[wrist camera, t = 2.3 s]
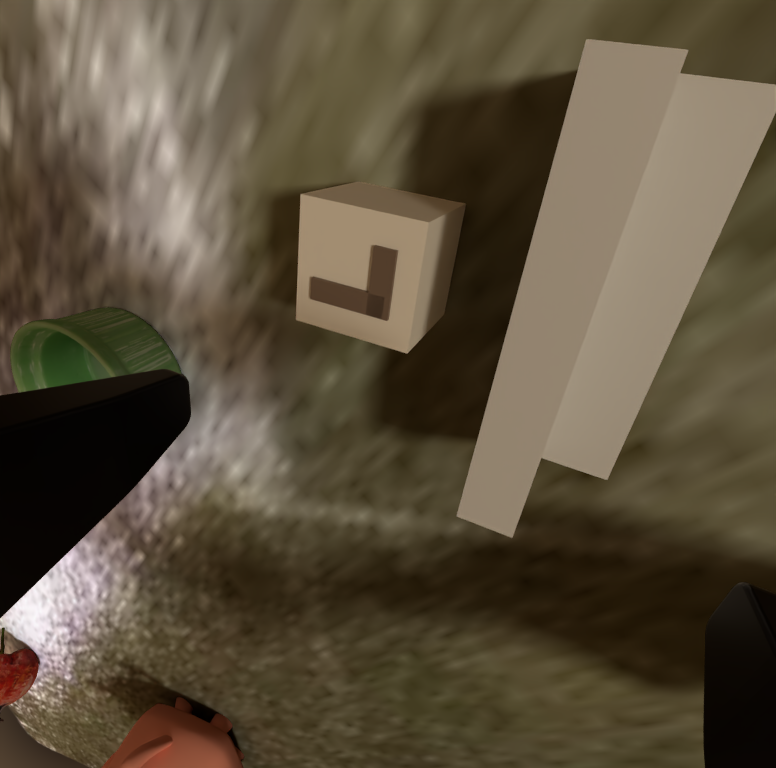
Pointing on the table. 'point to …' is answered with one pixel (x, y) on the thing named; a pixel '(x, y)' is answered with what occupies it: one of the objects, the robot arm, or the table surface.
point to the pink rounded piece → (177, 741)
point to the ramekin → (86, 349)
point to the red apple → (16, 674)
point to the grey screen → (610, 263)
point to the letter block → (376, 262)
